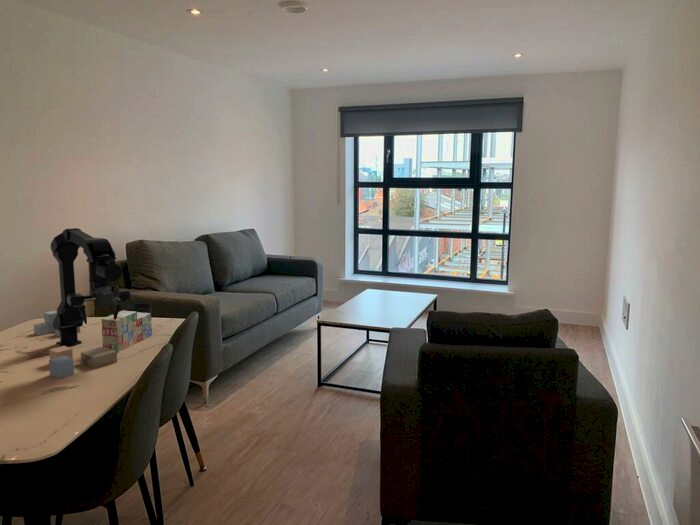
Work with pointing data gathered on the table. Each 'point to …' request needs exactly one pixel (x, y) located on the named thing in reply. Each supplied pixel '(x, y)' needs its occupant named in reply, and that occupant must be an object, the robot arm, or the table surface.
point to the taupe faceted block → (98, 357)
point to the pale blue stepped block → (48, 325)
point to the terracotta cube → (60, 352)
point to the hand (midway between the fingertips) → (100, 321)
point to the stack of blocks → (125, 329)
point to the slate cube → (61, 367)
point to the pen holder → (140, 308)
